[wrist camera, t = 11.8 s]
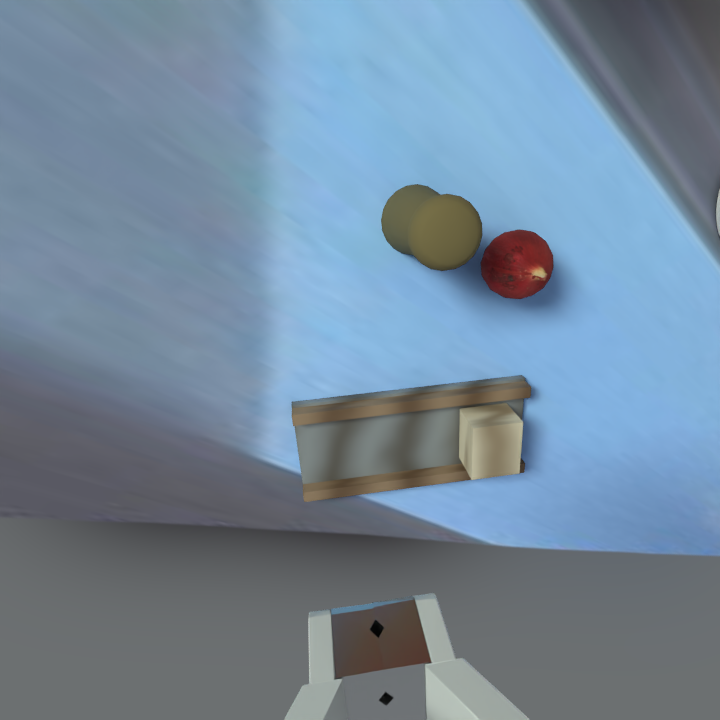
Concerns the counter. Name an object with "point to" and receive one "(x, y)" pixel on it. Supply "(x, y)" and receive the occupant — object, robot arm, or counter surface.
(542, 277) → the onion
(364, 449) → the chute
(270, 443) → the counter surface
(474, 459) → the birch block
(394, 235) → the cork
